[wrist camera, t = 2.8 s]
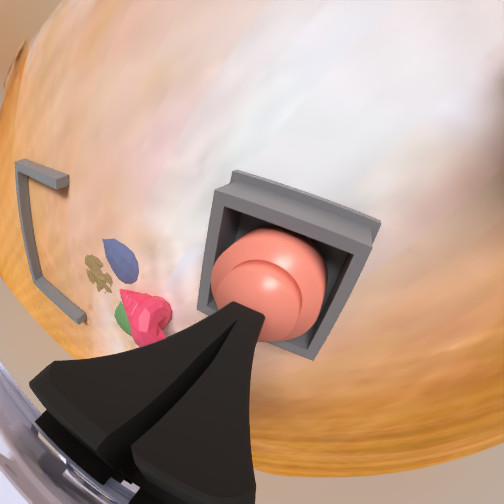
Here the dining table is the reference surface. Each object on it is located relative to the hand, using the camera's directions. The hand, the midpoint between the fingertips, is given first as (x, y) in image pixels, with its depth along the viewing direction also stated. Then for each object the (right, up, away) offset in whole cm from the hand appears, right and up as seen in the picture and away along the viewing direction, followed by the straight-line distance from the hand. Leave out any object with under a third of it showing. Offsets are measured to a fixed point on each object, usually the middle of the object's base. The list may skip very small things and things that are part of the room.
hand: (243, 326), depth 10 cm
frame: (-23, +4, +16) cm, 28 cm away
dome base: (+2, +2, +5) cm, 6 cm away
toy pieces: (-11, -1, +13) cm, 17 cm away
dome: (+2, +2, +4) cm, 4 cm away
